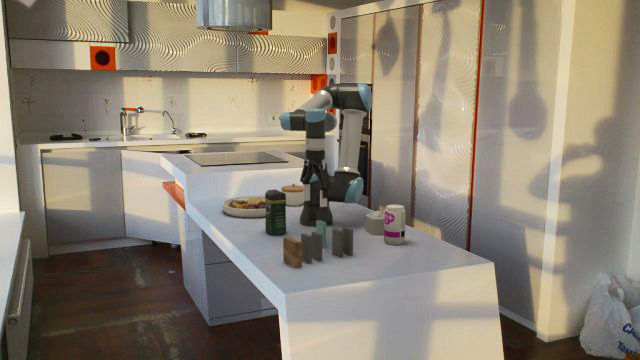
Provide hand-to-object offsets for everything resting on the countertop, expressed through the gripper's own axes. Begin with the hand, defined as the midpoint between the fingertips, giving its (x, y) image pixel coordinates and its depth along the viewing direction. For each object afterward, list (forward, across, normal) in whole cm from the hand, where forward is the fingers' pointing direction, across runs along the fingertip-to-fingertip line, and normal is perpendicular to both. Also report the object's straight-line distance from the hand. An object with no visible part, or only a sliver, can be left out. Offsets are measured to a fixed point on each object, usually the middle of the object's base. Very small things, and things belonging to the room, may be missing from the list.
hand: (314, 203), depth 237 cm
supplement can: (+17, +10, +31) cm, 37 cm away
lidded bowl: (+16, -72, +28) cm, 79 cm away
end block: (+18, +15, -17) cm, 29 cm away
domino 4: (+18, +14, +2) cm, 23 cm away
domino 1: (+18, +15, -12) cm, 26 cm away
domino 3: (+18, +15, -7) cm, 24 cm away
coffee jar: (+17, -26, -4) cm, 32 cm away
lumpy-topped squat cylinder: (+17, -6, +37) cm, 41 cm away
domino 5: (+17, +14, +6) cm, 23 cm away
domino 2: (+17, 0, +3) cm, 18 cm away
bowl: (+17, -68, +3) cm, 70 cm away
